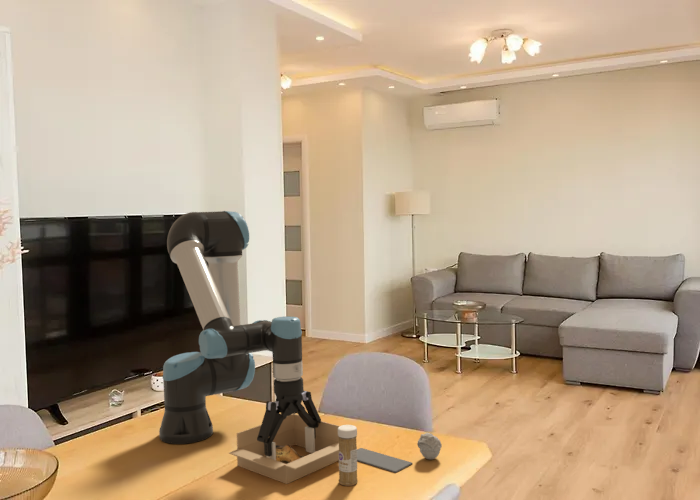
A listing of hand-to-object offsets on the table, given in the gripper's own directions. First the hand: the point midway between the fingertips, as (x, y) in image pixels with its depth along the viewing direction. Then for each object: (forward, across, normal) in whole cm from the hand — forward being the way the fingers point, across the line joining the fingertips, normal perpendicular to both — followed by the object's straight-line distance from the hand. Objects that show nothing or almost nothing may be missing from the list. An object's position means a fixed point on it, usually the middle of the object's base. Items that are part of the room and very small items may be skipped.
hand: (291, 460), depth 172 cm
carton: (+1, -1, 0) cm, 1 cm away
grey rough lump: (+2, +24, -26) cm, 35 cm away
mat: (+1, +15, -16) cm, 22 cm away
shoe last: (+1, +1, +1) cm, 2 cm away
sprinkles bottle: (+2, 0, -19) cm, 19 cm away
